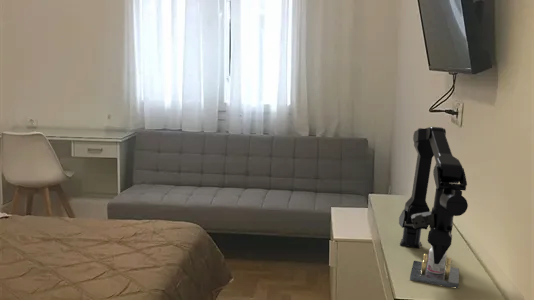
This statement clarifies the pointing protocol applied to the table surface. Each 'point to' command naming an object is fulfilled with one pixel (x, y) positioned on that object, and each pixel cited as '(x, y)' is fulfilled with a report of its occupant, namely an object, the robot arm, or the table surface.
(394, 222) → the table surface
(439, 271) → the pill bottle
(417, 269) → the grey pegged plate
